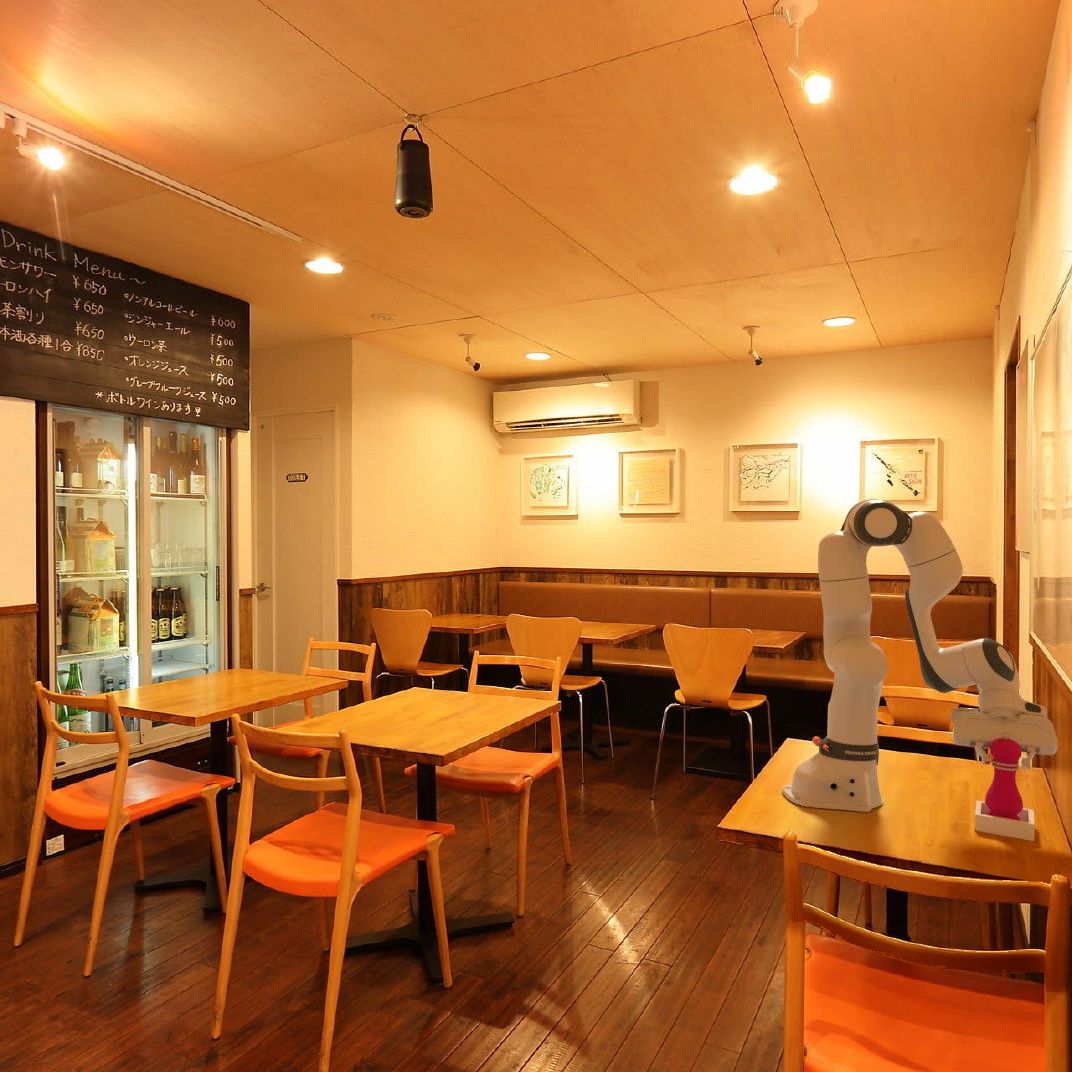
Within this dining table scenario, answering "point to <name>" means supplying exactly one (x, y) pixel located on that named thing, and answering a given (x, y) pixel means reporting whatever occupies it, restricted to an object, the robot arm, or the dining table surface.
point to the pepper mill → (1004, 779)
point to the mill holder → (1005, 823)
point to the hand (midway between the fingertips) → (1006, 765)
